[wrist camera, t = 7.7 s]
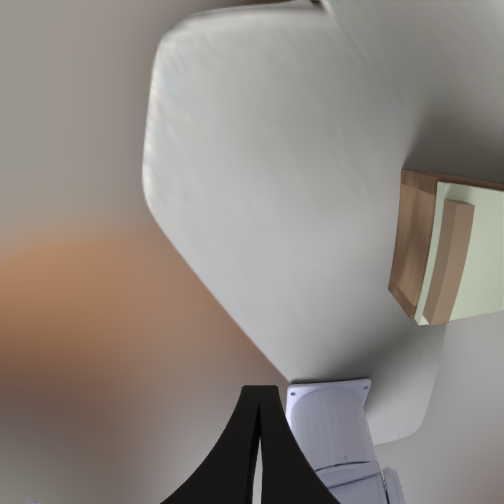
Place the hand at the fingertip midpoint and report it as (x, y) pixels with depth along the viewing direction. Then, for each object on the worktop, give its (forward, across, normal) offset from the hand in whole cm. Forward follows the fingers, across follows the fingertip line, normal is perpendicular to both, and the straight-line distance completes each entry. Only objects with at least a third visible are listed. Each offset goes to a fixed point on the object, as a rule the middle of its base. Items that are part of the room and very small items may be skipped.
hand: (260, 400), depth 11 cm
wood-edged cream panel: (+6, -17, -4) cm, 19 cm away
